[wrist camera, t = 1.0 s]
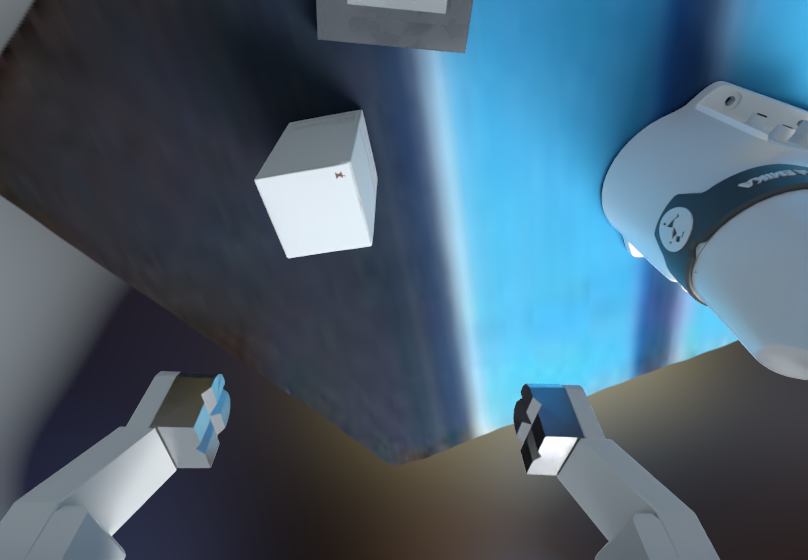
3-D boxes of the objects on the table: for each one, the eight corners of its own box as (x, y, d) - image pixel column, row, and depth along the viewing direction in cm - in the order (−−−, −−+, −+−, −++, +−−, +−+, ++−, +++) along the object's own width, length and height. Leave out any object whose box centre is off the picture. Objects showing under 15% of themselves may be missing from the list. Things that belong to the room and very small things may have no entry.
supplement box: (287, 120, 39) (249, 176, 29) (363, 107, 38) (352, 159, 28) (310, 191, 43) (285, 260, 34) (379, 180, 43) (374, 247, 33)
